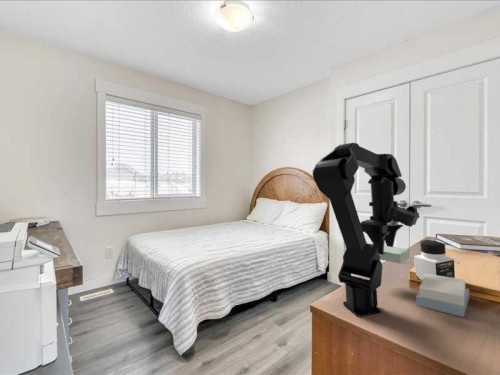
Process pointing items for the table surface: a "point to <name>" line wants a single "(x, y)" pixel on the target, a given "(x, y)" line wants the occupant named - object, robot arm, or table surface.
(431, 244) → the medicine bottle
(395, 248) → the pale green stepped block
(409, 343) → the table surface
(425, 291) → the grey stepped block
